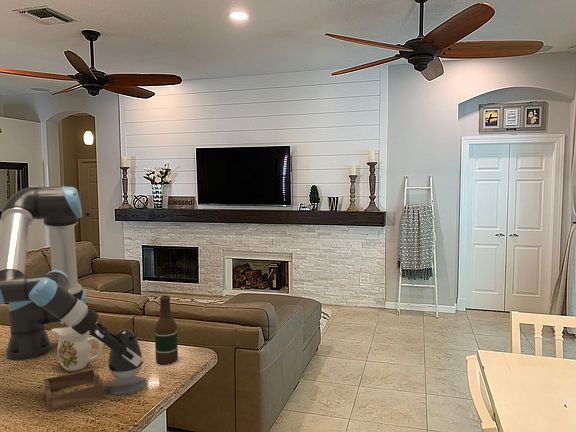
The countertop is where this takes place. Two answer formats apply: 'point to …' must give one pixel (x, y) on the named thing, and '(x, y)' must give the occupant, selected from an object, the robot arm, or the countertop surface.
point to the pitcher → (75, 348)
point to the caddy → (73, 396)
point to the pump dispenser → (121, 365)
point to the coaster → (126, 385)
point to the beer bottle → (166, 335)
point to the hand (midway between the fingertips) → (135, 357)
